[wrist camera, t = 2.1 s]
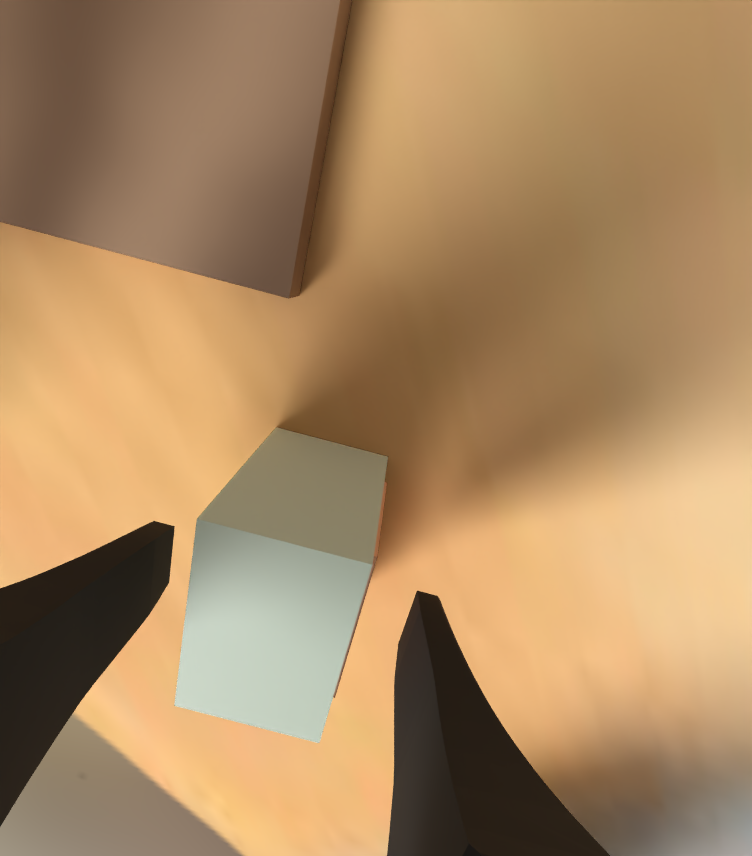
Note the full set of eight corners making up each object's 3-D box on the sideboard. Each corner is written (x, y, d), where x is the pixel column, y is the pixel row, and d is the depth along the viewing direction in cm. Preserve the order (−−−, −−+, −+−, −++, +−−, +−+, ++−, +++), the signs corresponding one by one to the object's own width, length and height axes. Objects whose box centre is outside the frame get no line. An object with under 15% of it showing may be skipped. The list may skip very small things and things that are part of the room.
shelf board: (-145, 177, 14) (-194, 170, 13) (-209, -245, 10) (-284, -306, 9) (299, 295, 14) (288, 298, 13) (368, -87, 11) (362, -129, 9)
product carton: (251, 564, 18) (174, 705, 12) (276, 426, 15) (196, 518, 10) (353, 591, 18) (324, 744, 12) (392, 457, 15) (379, 566, 10)
